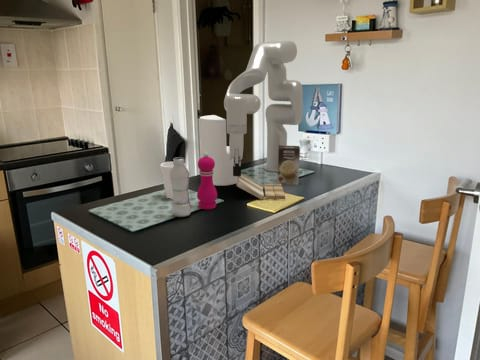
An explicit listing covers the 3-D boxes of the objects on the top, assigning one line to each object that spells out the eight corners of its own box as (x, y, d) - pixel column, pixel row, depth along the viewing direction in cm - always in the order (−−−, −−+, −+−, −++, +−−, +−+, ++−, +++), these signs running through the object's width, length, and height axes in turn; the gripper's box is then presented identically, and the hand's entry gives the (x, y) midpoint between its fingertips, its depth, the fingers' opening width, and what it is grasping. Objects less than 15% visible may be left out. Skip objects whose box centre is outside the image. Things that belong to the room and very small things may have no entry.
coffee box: (277, 185, 171) (277, 148, 166) (277, 181, 177) (277, 145, 173) (298, 185, 170) (300, 148, 166) (298, 181, 176) (299, 145, 172)
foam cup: (190, 197, 155) (189, 165, 152) (167, 201, 151) (165, 168, 147) (180, 191, 163) (179, 160, 159) (159, 195, 158) (156, 163, 155)
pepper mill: (202, 211, 140) (200, 155, 135) (194, 205, 147) (192, 151, 141) (220, 208, 144) (219, 153, 138) (212, 202, 150) (211, 149, 144)
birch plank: (237, 174, 165) (239, 171, 165) (260, 187, 167) (262, 184, 166) (236, 185, 150) (238, 182, 150) (261, 199, 151) (263, 196, 151)
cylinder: (207, 187, 168) (205, 120, 161) (197, 177, 184) (195, 115, 176) (246, 183, 174) (246, 118, 166) (233, 173, 189) (233, 114, 182)
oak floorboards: (263, 188, 167) (264, 184, 166) (281, 188, 167) (281, 184, 166) (265, 200, 152) (265, 196, 151) (284, 200, 151) (285, 196, 151)
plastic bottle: (183, 220, 132) (180, 161, 127) (167, 216, 136) (164, 159, 130) (195, 214, 137) (193, 157, 132) (180, 211, 141) (177, 155, 135)
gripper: (227, 126, 160) (228, 171, 165) (226, 132, 145) (226, 181, 150) (246, 126, 159) (246, 171, 164) (246, 132, 145) (246, 180, 150)
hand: (237, 175), depth 157 cm, fingers closed
